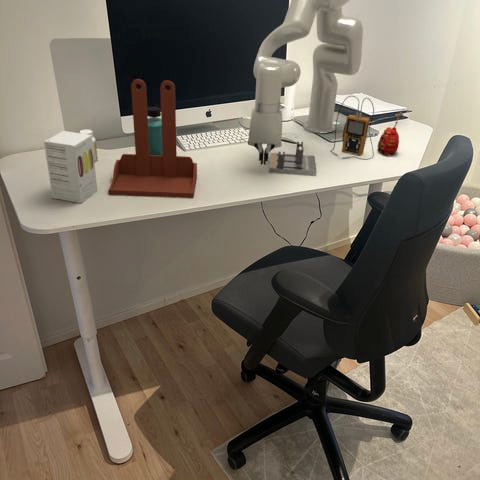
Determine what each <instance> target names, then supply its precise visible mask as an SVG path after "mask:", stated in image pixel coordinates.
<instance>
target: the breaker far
mask: <svg viewBox="0 0 480 480" xmlns="http://www.w3.org/2000/svg"><path fill="white" fill-rule="evenodd" d="M295 147H296V149H295V154H297V147H303V148H304V141H301V140H298V141H296V146H295Z"/></svg>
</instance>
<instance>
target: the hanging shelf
mask: <svg viewBox="0 0 480 480" xmlns="http://www.w3.org/2000/svg"><path fill="white" fill-rule="evenodd" d="M137 85H140V87H141V88H138V87H137ZM166 86H169V88H170V89H167V88H166ZM159 88H160V89H159V90H160V94H159V95H160V112H161V116H160V117H161V118H160V119H161V121H162V148H163V156H162V155H150V153H149V133H148V118H149V117H148V114H147V108H148V99H147V98H148V97H147V84H146V83H145V81H144V80H143V79H140V78H136V79H133V81H132V82H131V84H130V89H131V102H132V103H131V104H132V105H131V106H132V118H133V119H132V120H133V122H132V123H133V134H134V148H135V151H134V152H135V153H123V154H121V156H120V159H116V160H115V163H114V166H113V173H112V179H111V182H110V186H109V187H108V191H107V193H108V195H110V196H127V197H128V196H129V197H130V196H131V197H135V196H136V197H153V198H178V199H181V198H182V199H194V196H195V192H196V185H197V180H198V162H194V161H193V158H192V157H191V156H186V155H185V156H184V155H183V156H182V155H180V156H179V155H177V117H176V116H177V115H176V86H175V84H174V82H173V81H170V80H163V81H162V83H161V84H160V87H159Z"/></svg>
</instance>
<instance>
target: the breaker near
mask: <svg viewBox="0 0 480 480" xmlns="http://www.w3.org/2000/svg"><path fill="white" fill-rule="evenodd" d="M277 153H278V163H277V167H280V168H284V158H285V154H286V152H285V151H282V150H280V151H278V152H277Z"/></svg>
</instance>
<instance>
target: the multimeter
mask: <svg viewBox="0 0 480 480" xmlns="http://www.w3.org/2000/svg"><path fill="white" fill-rule="evenodd" d="M351 97H354V98H355V99H356V100H357V102H360V100H359V98H358V97H357V96H355V95H348V96H347V97H346V98H345V99H344V100H343V102H342V103H341V105H340V108H339V110H338V112H337V116H336V120H335V126H337V123H338V118H339V114H340V111H341V110H342V109H341V108H342V107H343V105H344V103H345V101H346V100H347V99H348V98H351ZM366 99H367V100H368V101H369V102H370V104H371V106H372V116H371V119H370V118H369V117H364V116H362V109H363V104H364V102H365V100H366ZM360 106H361V107H360ZM374 107H375V106H374V104H373V101H372V99H370V98H369V97H364V99H363V100H362V102H361V105H360V104H358V106H357V110H356V114H355V115H354V114H348V115H347V117H346V120H345V124H344V127H343V132H342V147H341V152H342V153H344V154H345V153H346V154H351V155H352V158H356V159H359V160H362V158H361V157H360V156H362V155H364V151H365V147H366V141H367V135H369V139H370V140H369V141H370V143H371V148H372V149H371V150H372V157H370V158H363V160H367V161H368V160H371V159H373V158H374V148H373V143H372V137H371V134H370V132H369V130H371V125H372V122H373V121H372V120H373V117H374V114H375V108H374ZM359 109H360V111H359ZM370 120H371V121H370ZM336 134H337V127H336V128H335V131H334V140H336V139H337V138H336V136H337V135H336ZM333 142H334V145H333V148H332V149H331V150H330V152H331V153H332V154H333V155H334V156H336V157H339V158H337V159H338V160H339V159H341V160H345V159H350V158H351V156H343V157H340V155H338V154H337V153H335V152H333V151H334V150H335V146H336V141H333ZM353 155H355V156H353Z"/></svg>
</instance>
